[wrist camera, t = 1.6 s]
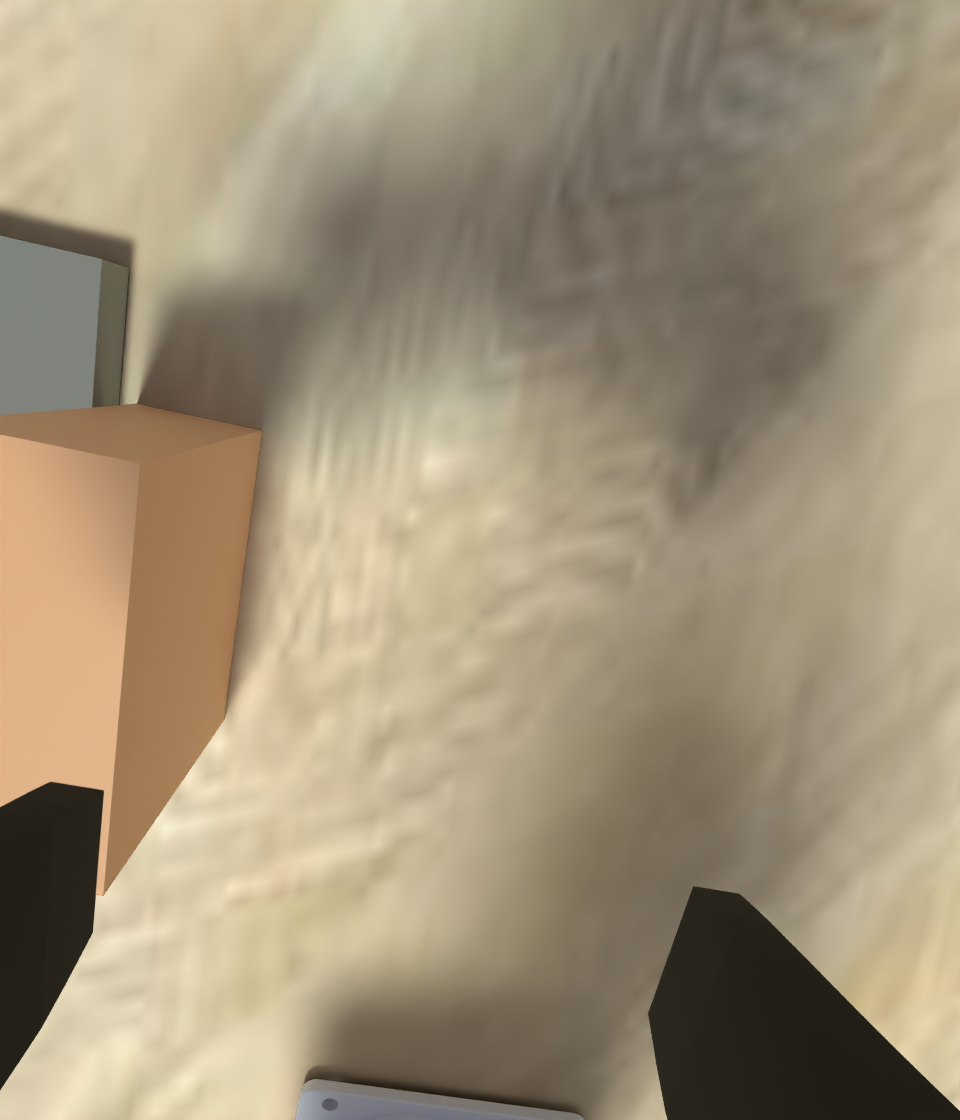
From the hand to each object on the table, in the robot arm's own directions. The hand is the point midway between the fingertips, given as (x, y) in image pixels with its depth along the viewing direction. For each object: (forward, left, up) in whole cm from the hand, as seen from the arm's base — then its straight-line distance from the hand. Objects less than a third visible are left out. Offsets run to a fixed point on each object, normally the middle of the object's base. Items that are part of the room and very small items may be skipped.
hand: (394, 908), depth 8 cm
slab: (+6, 0, -10) cm, 12 cm away
